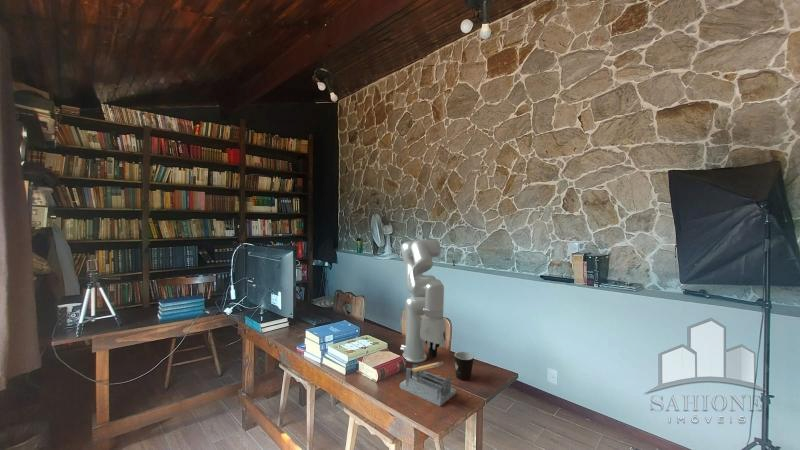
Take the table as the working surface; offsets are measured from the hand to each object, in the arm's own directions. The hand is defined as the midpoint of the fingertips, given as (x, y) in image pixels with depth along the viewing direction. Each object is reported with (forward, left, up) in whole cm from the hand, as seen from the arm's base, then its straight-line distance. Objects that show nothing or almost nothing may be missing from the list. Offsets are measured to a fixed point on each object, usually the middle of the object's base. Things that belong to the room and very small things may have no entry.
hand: (432, 357), depth 136 cm
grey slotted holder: (-2, 0, -15) cm, 15 cm away
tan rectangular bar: (-3, 0, -6) cm, 7 cm away
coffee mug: (+3, +22, -15) cm, 27 cm away
